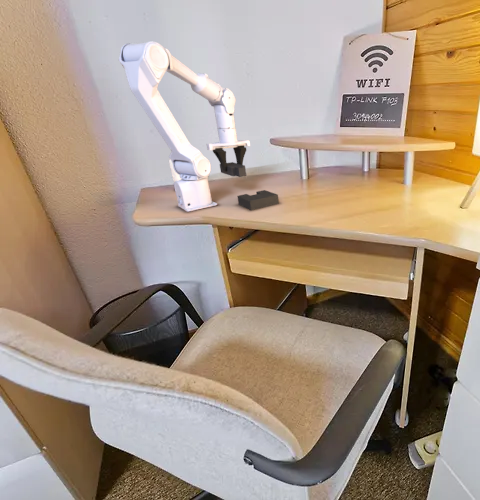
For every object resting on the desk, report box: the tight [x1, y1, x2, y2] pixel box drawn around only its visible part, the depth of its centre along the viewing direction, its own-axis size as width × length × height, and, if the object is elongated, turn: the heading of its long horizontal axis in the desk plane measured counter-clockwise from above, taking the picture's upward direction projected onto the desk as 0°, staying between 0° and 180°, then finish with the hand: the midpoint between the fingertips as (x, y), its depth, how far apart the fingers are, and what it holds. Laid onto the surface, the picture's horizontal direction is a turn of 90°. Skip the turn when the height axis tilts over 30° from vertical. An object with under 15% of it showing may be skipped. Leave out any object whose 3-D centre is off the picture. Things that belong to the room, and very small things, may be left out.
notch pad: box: [236, 189, 280, 211], centre depth 102 cm, size 10×8×3 cm
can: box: [168, 158, 182, 183], centre depth 117 cm, size 6×6×12 cm
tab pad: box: [219, 161, 247, 178], centre depth 111 cm, size 5×11×3 cm, turn 45°
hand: (232, 169), depth 112 cm, fingers closed on tab pad, 5 cm apart
